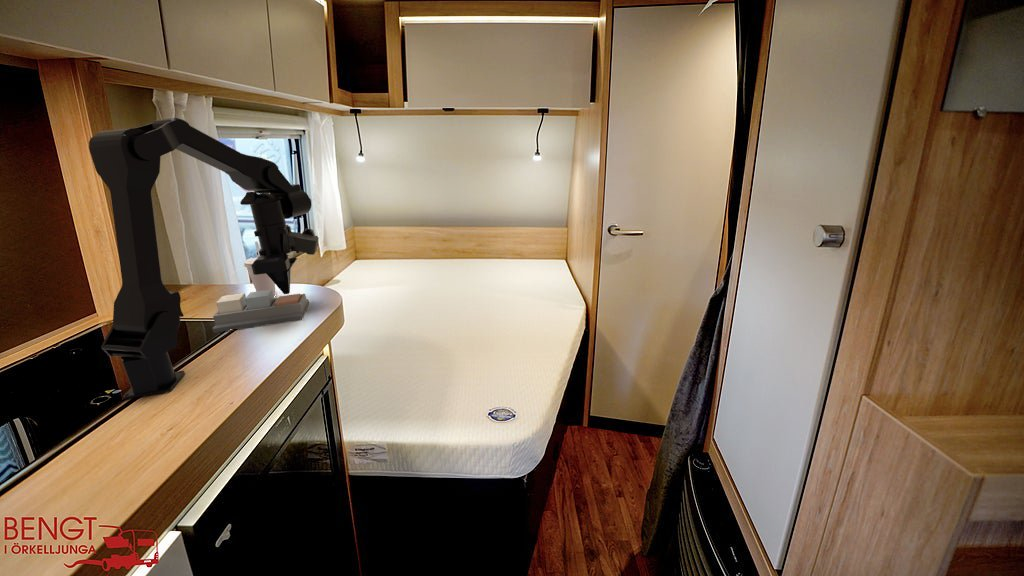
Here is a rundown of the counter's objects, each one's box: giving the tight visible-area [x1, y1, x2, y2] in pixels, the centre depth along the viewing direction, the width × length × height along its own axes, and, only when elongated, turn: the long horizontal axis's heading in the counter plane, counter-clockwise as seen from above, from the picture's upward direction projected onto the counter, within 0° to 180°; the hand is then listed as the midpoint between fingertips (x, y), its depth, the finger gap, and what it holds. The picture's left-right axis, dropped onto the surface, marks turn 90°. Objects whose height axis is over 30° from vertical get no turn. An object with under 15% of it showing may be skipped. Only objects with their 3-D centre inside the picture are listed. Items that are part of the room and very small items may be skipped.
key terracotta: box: [275, 293, 301, 306], centre depth 103 cm, size 4×4×2 cm
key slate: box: [245, 290, 275, 310], centre depth 101 cm, size 4×4×2 cm
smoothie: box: [243, 241, 277, 296], centre depth 114 cm, size 6×6×14 cm
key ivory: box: [216, 292, 247, 314], centre depth 100 cm, size 4×4×2 cm
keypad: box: [212, 293, 310, 334], centre depth 102 cm, size 11×17×3 cm, turn 105°
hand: (287, 293), depth 103 cm, fingers closed
